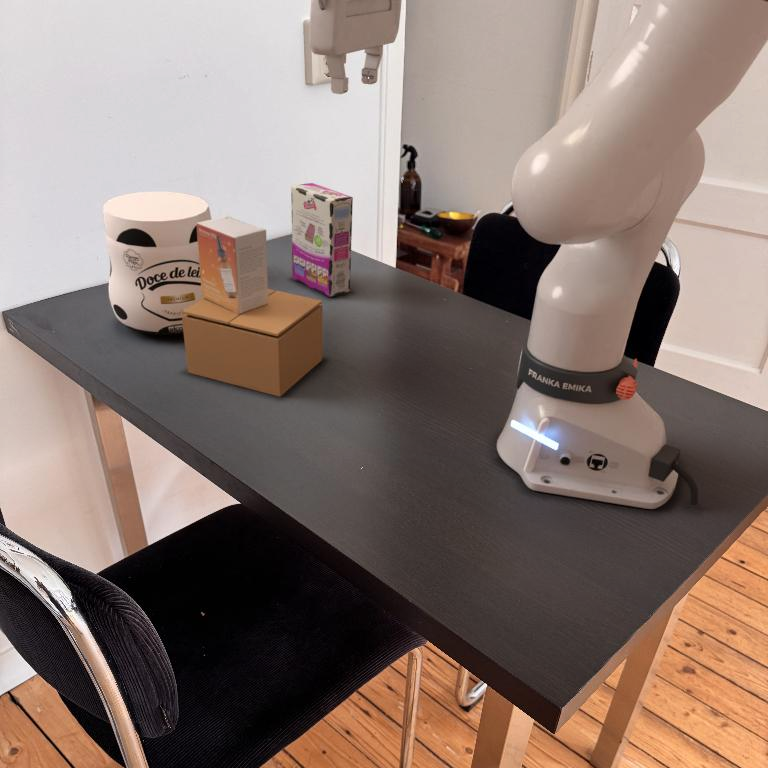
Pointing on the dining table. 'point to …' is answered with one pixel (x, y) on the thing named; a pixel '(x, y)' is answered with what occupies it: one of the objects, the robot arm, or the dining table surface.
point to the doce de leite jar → (154, 258)
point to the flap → (276, 313)
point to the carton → (249, 349)
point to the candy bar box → (321, 238)
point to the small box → (233, 263)
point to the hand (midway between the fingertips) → (354, 88)
